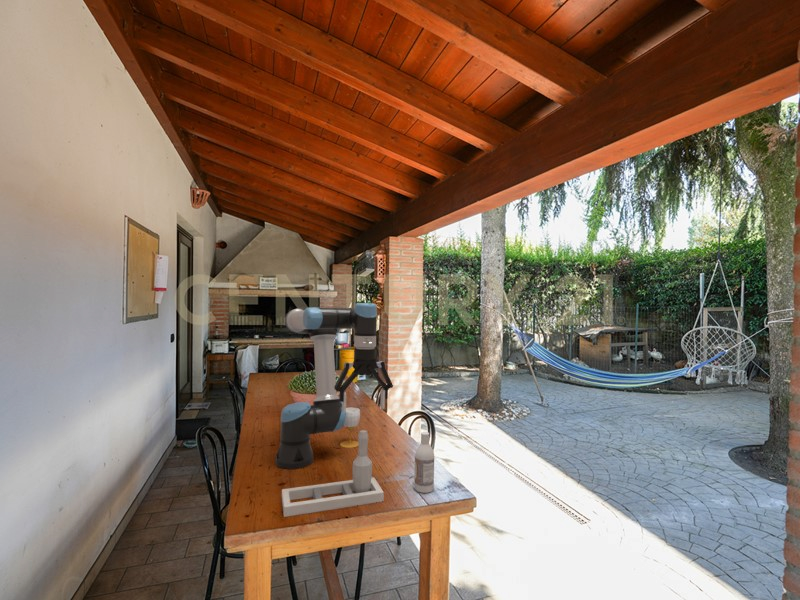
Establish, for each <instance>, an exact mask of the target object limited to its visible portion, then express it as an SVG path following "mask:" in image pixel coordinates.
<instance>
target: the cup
mask: <svg viewBox="0 0 800 600" xmlns="http://www.w3.org/2000/svg"><path fill="white" fill-rule="evenodd" d="M360 418H361V410H360V409H359V408H357V407H346V420H345V423H344V426H343V427H345V429H348V430H349V431H348V433H349V434H348V435H349V436H348V440H344V441H341V442H340V444H339V445H340V447H342V448H344V449H345V448H346V449H354V448H357V447H358V440H357V441H356V440H352V429H355V428H356V427H357V426H358V425H359V423H360Z"/></svg>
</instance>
